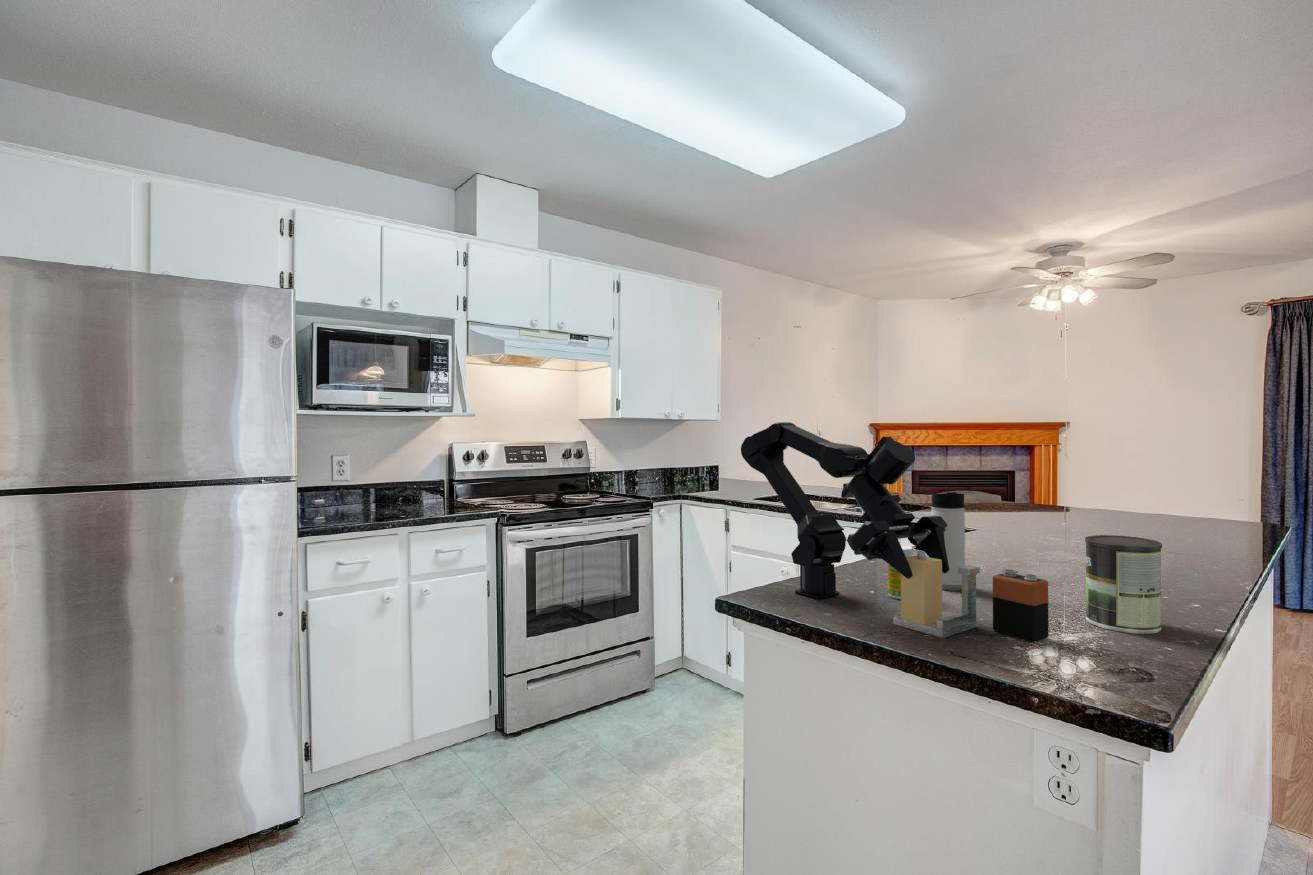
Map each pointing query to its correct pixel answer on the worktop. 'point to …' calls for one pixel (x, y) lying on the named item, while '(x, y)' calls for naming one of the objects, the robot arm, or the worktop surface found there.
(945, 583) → the travel mug
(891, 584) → the supplement bottle
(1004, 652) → the worktop surface
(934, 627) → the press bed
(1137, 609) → the coffee can
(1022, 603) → the battery
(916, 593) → the block
